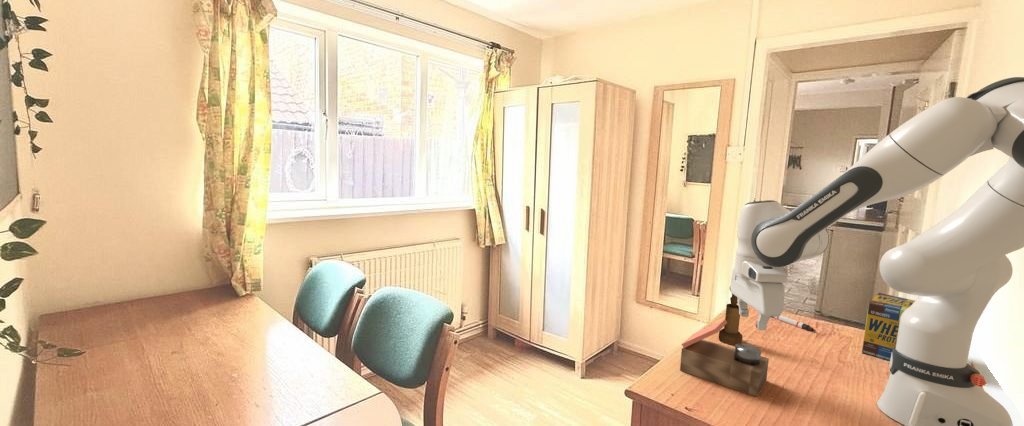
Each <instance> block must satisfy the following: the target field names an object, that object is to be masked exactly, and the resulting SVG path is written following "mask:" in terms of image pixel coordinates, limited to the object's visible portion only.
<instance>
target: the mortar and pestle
mask: <svg viewBox="0 0 1024 426" xmlns="http://www.w3.org/2000/svg"><path fill="white" fill-rule="evenodd" d="M729 291H730V292H731V289H730V288H729ZM729 299H730V303H727V304H726V306H725V307H726V309H725V317H724V318H725V319H724V320H726V321H727V324H726V325H725V326H724V327H723V328H722V329H721V330H720V331H719V332H718V340H719V341H720V342H722V343H724V344H727V345H732V346H735V345H736V344H739V343H743V335H742V333H741V332H739V329H740V322H741V321H740V319H741V315H740V314H739V305H738V301H737V300H738V297H737V296H735V295H734V294H732V293H731V297H730V298H729Z"/></svg>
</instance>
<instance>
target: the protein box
mask: <svg viewBox="0 0 1024 426" xmlns="http://www.w3.org/2000/svg"><path fill="white" fill-rule="evenodd" d="M915 300H916V299H910V298H905V297H900V296H897V295H890V294H886V293H881V292H878V293H877V294H876V295H875V296H874V297H873V298H872V299H871V301H869V302H868V307H867V313H866V319H865V321H866V322H865V325H864V334H863V339H862V340H863V342H862V350H861V353H862V354H863V355H867V356H871V357H873V358H874V357H875V358H878V359H882V360H886V361H888V362H890V359H891V353H892V351H893V347H894V346H896V342H897V336H898V329H899V323H900V317H901V315H902V313H903V312H904V311H905V310H906V309H907V308H909V307H910V306H911V305H912V304H913V303H914V302H915Z"/></svg>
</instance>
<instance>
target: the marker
mask: <svg viewBox="0 0 1024 426" xmlns="http://www.w3.org/2000/svg"><path fill="white" fill-rule="evenodd" d="M770 318H773V319H775V320H778V321H780V322H783V323H785V324H789V325H791V326H794V327H797V328H799V329H802V330H804V331H809V332H816V331H817V330H816V329H814V327H812V326H811V325H810V324H806V323H804V322H802V321H799V320H795V319H793V318H790V317H787V316H784V315H783V314H781V315H780V316H779V317H772V316H770Z"/></svg>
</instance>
